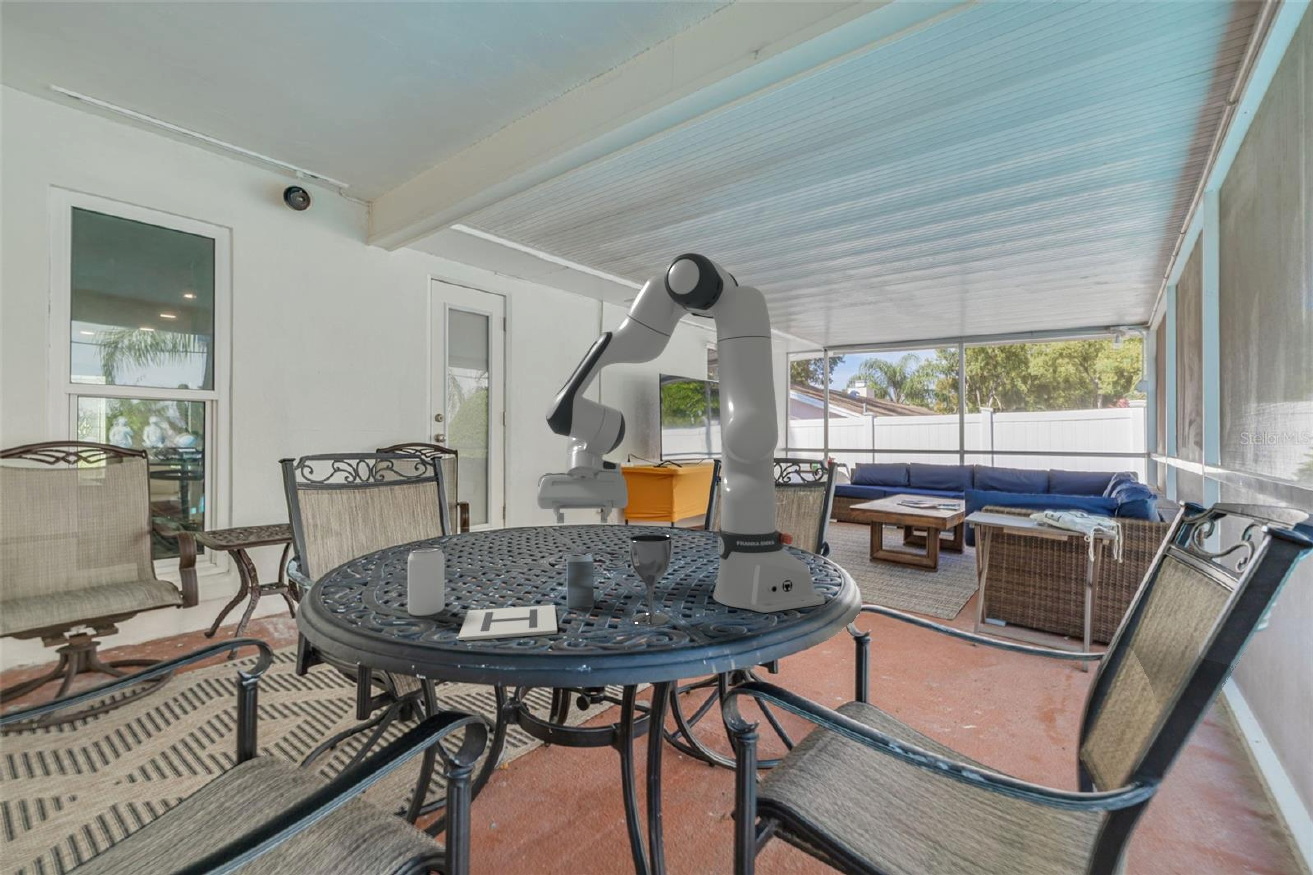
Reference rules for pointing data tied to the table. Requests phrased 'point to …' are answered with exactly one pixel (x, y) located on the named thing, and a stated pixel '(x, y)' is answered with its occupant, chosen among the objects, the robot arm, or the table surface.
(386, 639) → the table surface
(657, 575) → the wine glass
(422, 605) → the can
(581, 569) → the slate block
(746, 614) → the table surface
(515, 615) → the letter board
